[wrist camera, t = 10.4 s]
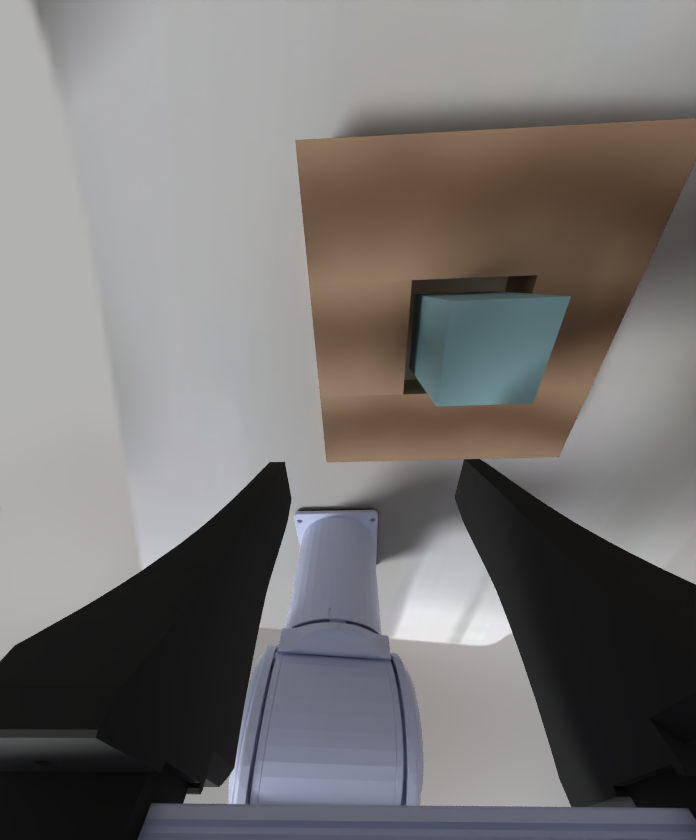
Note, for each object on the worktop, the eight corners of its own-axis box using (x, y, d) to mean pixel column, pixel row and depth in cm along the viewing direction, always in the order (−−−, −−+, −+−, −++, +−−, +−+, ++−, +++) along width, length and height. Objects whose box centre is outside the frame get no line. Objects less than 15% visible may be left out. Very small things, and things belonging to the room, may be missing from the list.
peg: (475, 365, 17) (533, 403, 11) (409, 367, 17) (436, 406, 12) (491, 291, 15) (571, 296, 9) (415, 294, 15) (451, 301, 9)
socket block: (531, 433, 20) (558, 456, 17) (329, 438, 20) (326, 462, 18) (636, 152, 12) (715, 116, 9) (306, 170, 12) (295, 139, 10)
